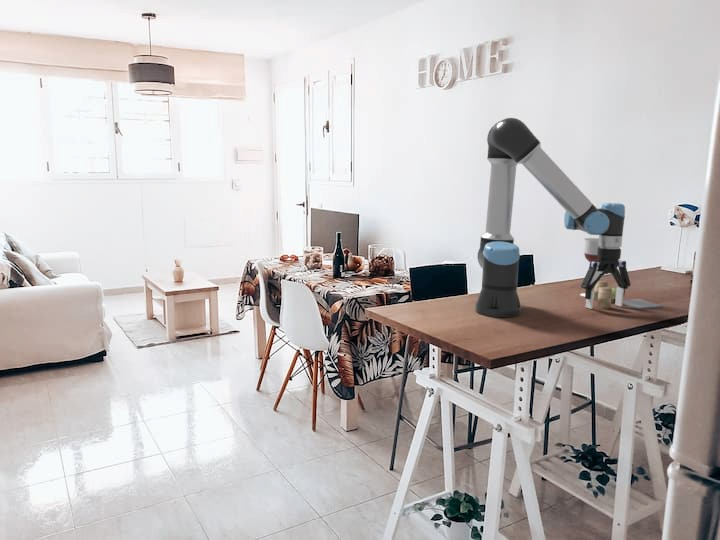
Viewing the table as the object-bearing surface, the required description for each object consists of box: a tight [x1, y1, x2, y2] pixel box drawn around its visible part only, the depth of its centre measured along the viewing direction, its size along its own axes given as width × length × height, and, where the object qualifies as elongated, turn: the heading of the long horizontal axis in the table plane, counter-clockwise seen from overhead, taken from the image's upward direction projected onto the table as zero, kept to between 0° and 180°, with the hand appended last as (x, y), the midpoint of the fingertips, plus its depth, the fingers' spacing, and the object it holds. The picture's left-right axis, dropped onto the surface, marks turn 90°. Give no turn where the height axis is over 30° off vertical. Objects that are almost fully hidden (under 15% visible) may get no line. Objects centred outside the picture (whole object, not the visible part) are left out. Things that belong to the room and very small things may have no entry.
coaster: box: [622, 298, 663, 310], centre depth 206 cm, size 11×11×1 cm
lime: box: [611, 287, 617, 301], centre depth 213 cm, size 5×5×5 cm
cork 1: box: [593, 280, 609, 302], centre depth 212 cm, size 4×4×7 cm
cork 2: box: [596, 286, 613, 310], centre depth 201 cm, size 4×4×7 cm
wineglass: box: [579, 237, 600, 298], centre depth 218 cm, size 9×10×22 cm
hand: (603, 306), depth 201 cm, fingers open, 12 cm apart
